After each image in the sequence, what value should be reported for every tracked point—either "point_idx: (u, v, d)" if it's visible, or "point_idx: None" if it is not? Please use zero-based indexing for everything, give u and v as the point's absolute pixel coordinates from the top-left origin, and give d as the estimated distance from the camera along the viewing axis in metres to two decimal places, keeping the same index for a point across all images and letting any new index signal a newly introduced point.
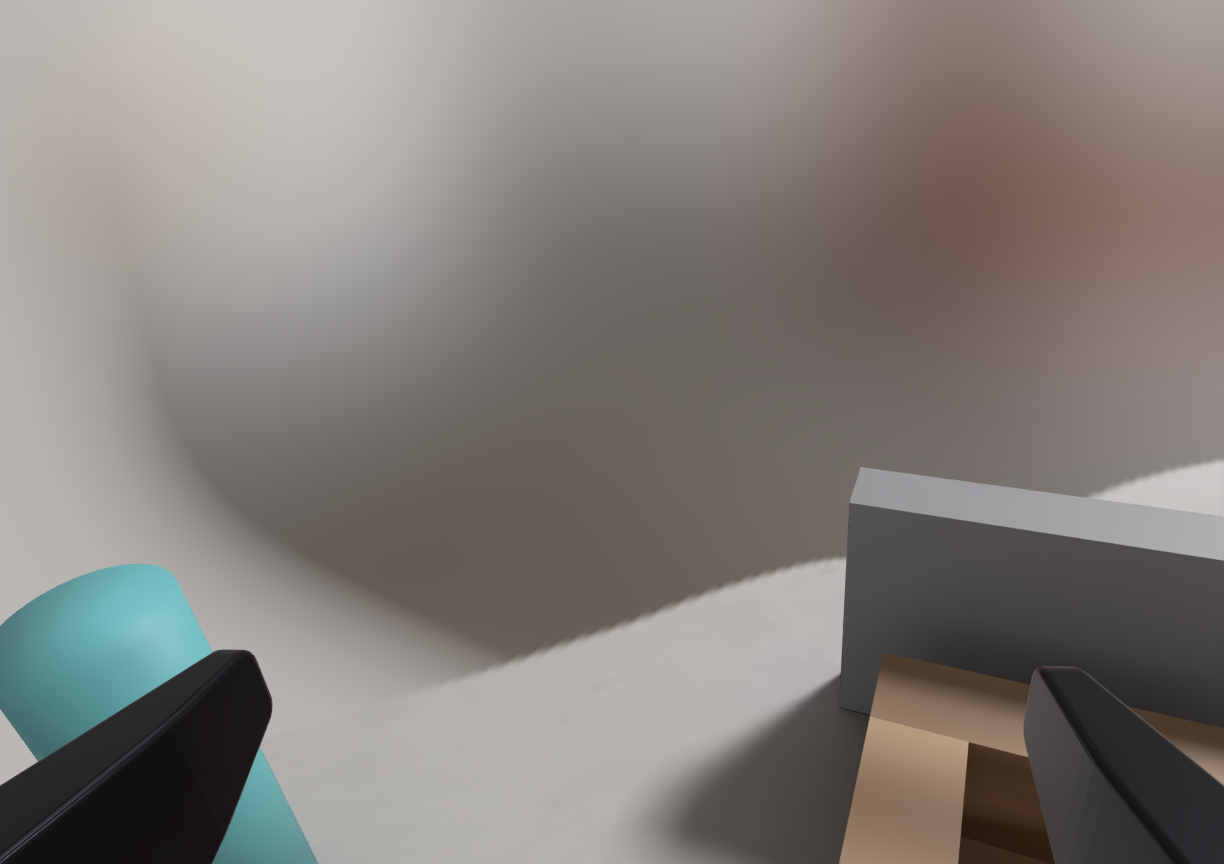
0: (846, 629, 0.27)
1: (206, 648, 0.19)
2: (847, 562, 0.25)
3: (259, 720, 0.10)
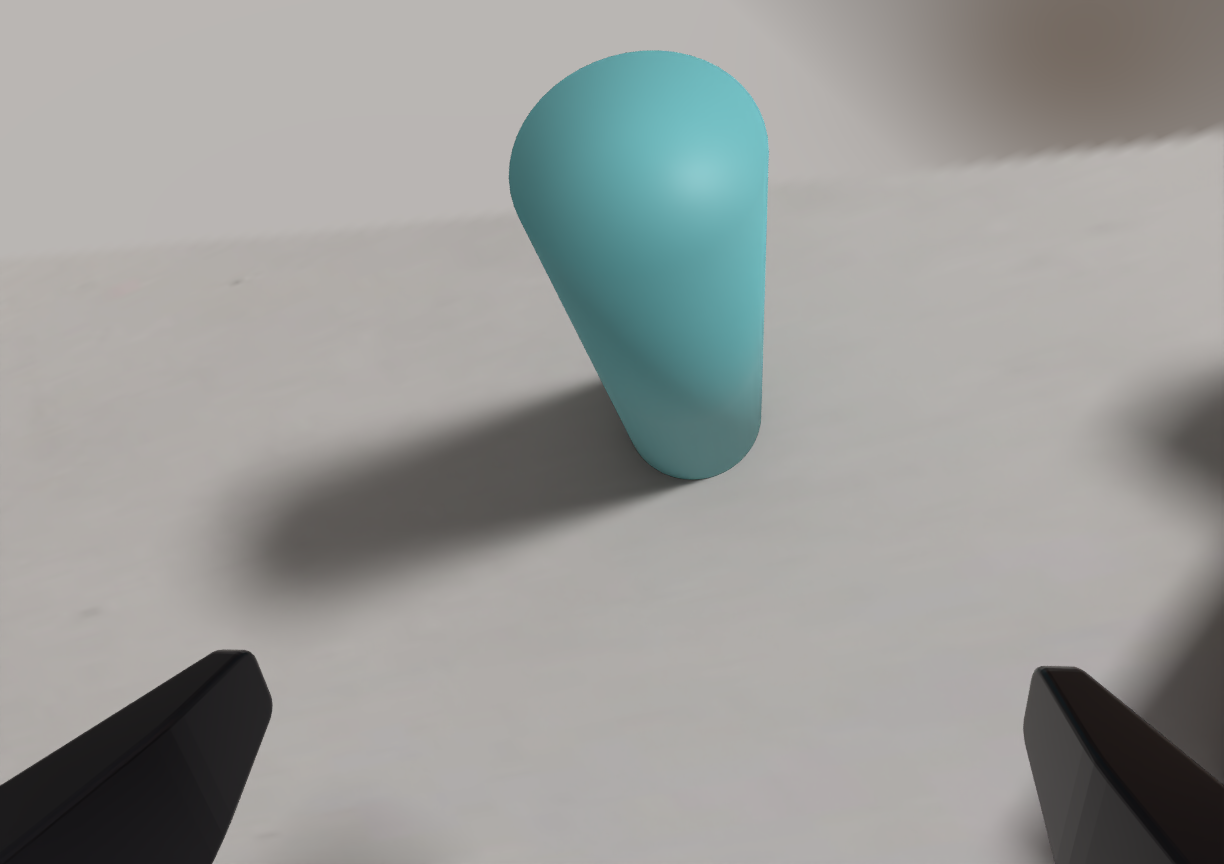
0: None
1: None
2: None
3: (259, 720, 0.10)
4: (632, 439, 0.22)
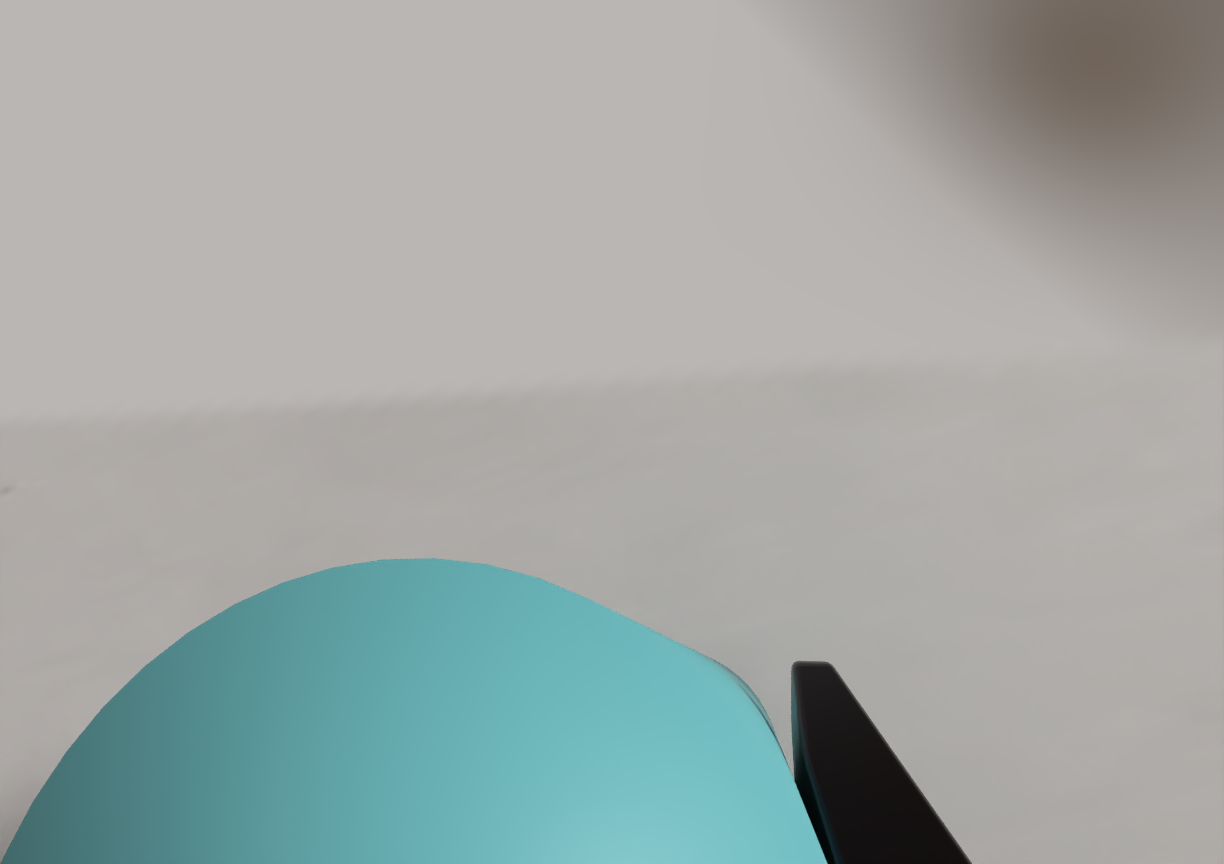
0: None
1: None
2: None
3: None
4: None
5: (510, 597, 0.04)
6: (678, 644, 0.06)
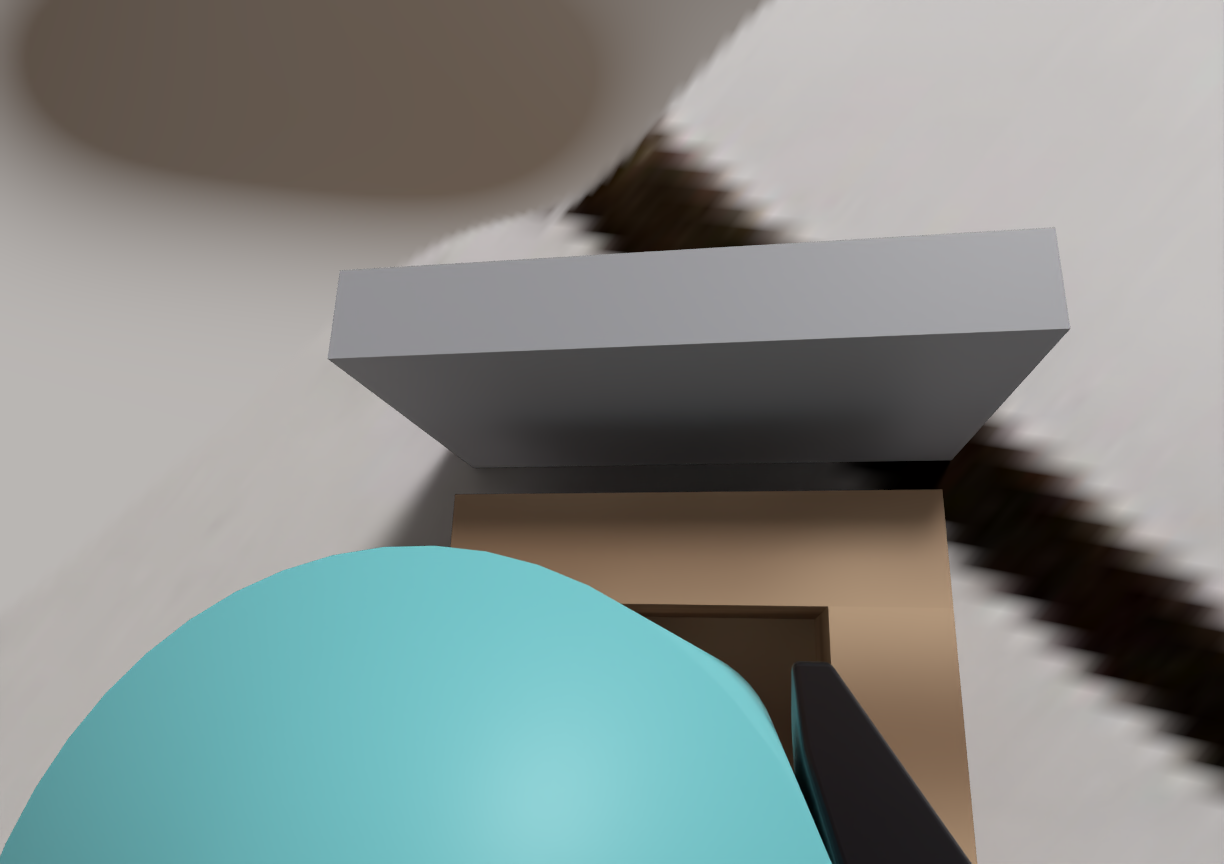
0: (429, 432, 0.21)
1: None
2: (379, 396, 0.19)
3: None
4: None
5: (510, 584, 0.04)
6: None
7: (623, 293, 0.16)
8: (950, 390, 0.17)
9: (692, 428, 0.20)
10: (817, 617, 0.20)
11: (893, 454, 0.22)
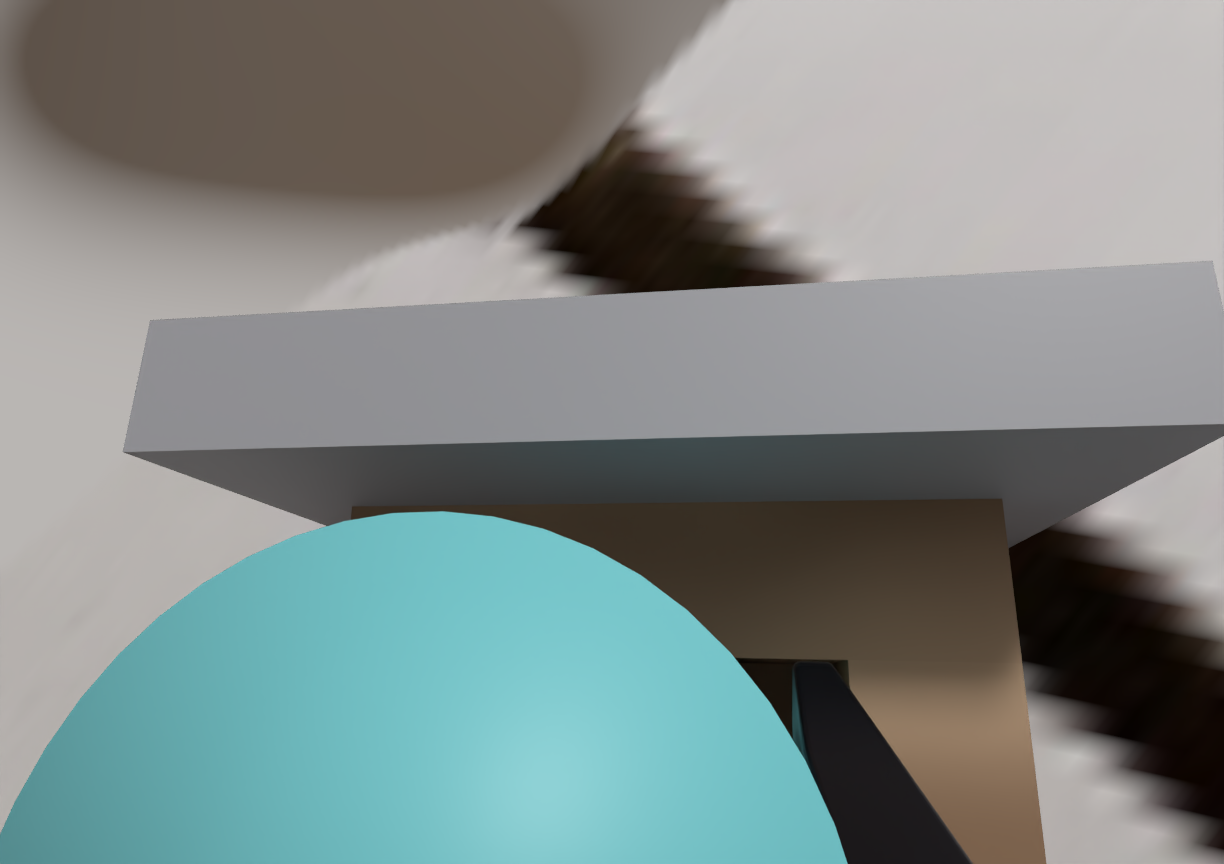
0: (319, 521, 0.16)
1: None
2: (227, 489, 0.13)
3: None
4: None
5: (516, 546, 0.04)
6: None
7: (551, 358, 0.10)
8: (1028, 488, 0.12)
9: None
10: None
11: None
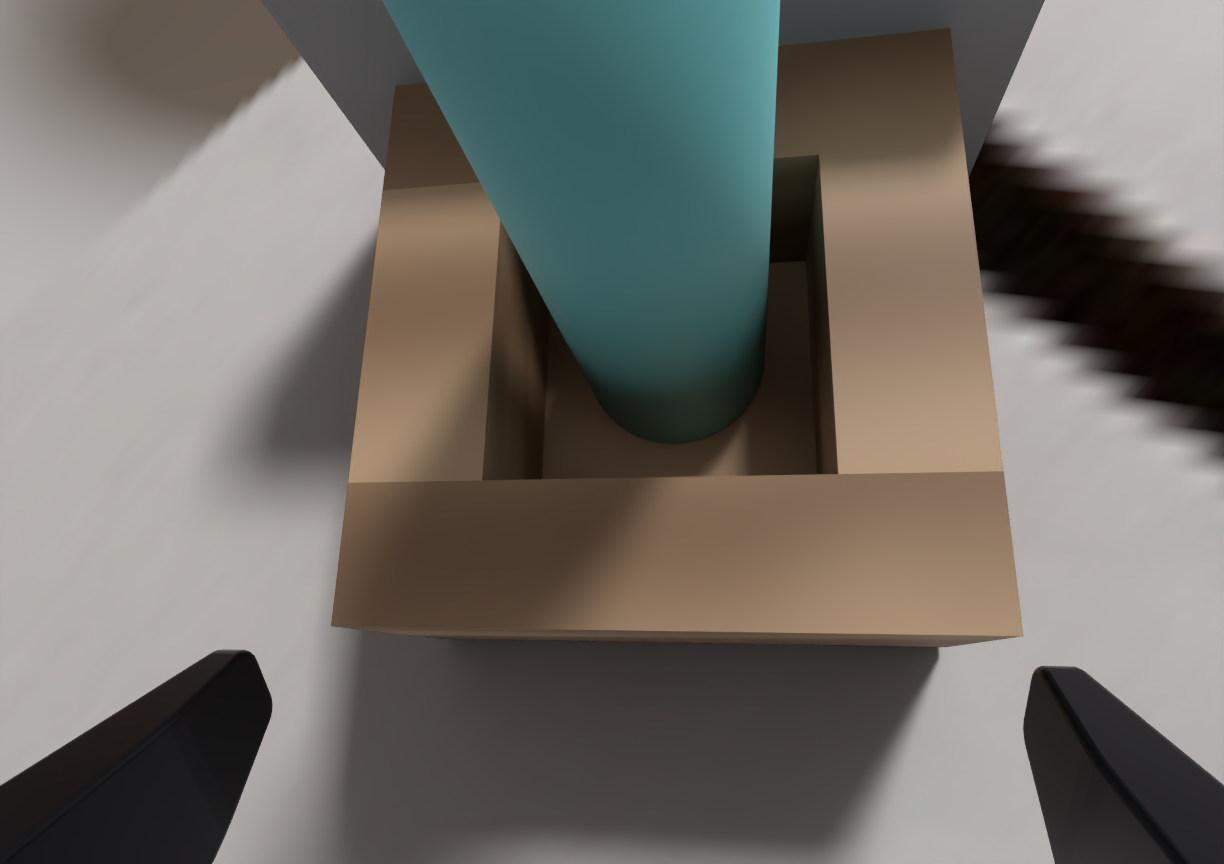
0: (363, 134, 0.18)
1: None
2: (292, 40, 0.16)
3: (259, 720, 0.10)
4: (592, 387, 0.17)
5: None
6: None
7: None
8: None
9: None
10: (808, 241, 0.18)
11: None
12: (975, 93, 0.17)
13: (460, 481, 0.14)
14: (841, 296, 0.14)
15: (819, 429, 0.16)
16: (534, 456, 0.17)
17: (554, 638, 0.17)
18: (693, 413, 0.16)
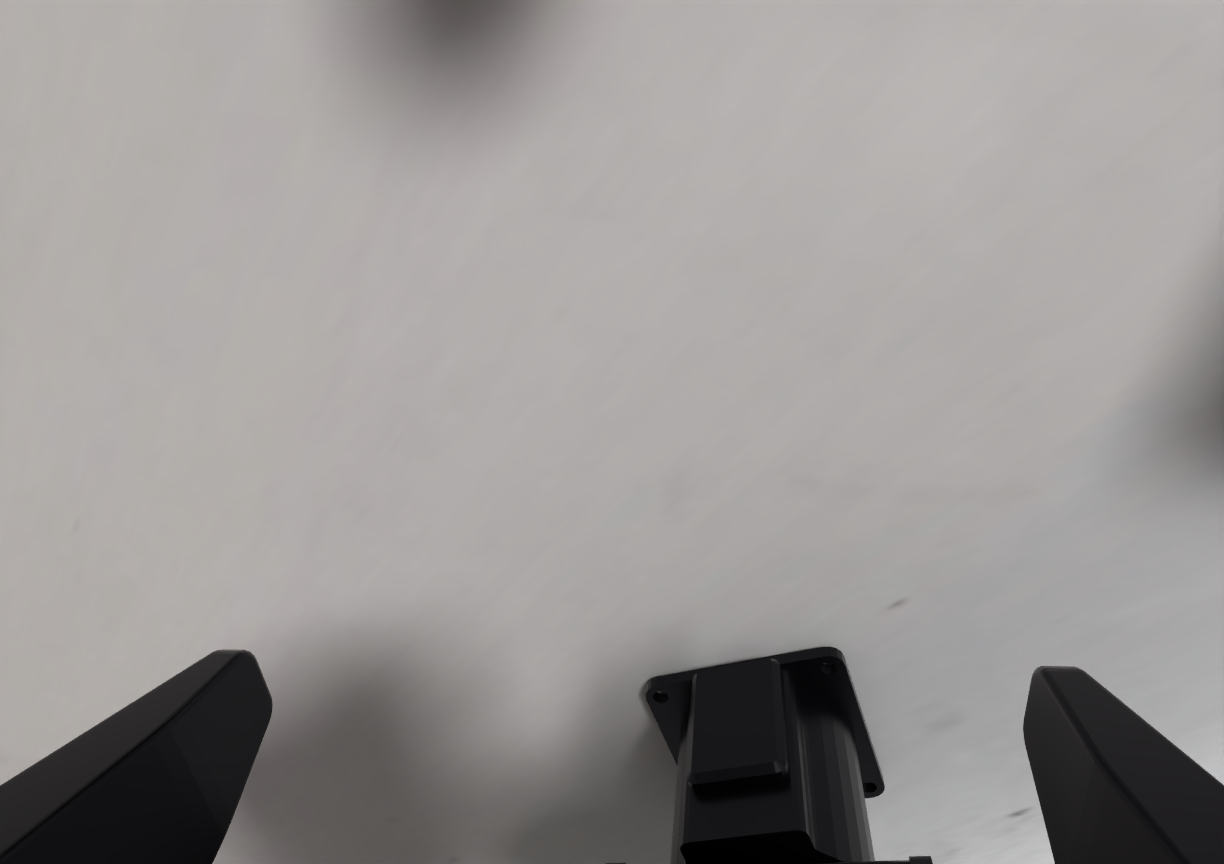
0: None
1: None
2: None
3: (259, 720, 0.10)
4: None
5: None
6: None
7: None
8: None
9: None
10: None
11: None
12: None
13: None
14: None
15: None
16: None
17: None
18: None
